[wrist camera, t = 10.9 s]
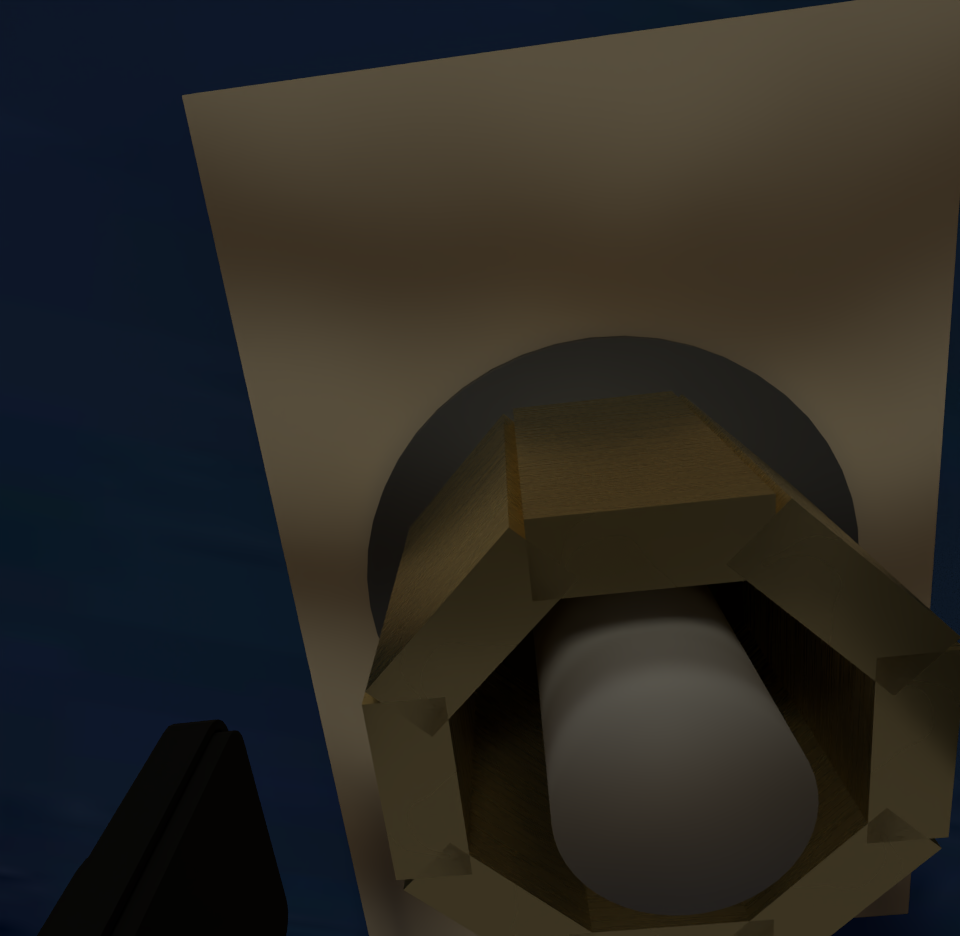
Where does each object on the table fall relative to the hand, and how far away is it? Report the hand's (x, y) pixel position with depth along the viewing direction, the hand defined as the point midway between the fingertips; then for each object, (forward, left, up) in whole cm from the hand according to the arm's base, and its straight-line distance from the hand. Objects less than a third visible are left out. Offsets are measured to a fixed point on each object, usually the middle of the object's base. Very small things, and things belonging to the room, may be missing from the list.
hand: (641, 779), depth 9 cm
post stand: (0, 0, -7) cm, 7 cm away
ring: (0, 0, -5) cm, 5 cm away
